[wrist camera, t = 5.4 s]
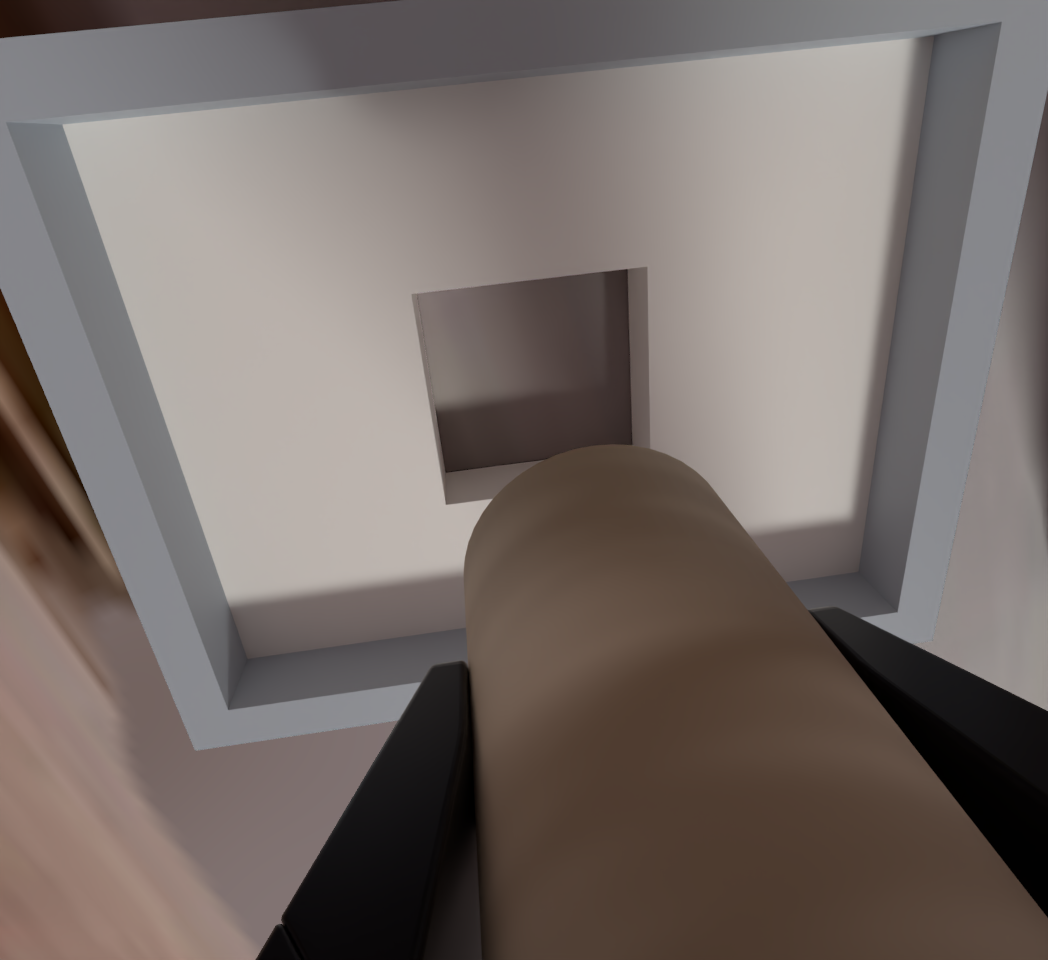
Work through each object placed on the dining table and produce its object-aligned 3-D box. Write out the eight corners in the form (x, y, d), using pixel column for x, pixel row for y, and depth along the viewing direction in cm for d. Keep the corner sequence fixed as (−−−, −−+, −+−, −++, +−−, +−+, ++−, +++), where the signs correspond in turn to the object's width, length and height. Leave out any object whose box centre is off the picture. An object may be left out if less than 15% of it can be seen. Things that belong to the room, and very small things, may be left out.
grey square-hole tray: (856, 563, 23) (932, 640, 20) (234, 652, 22) (194, 750, 19) (938, -19, 16) (1080, -65, 13) (28, 70, 15) (-101, 47, 11)
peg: (737, 426, 9) (1655, 1305, 2) (728, 657, 11) (1229, 1559, 4) (444, 465, 9) (451, 1562, 2) (482, 693, 11) (554, 1713, 4)
